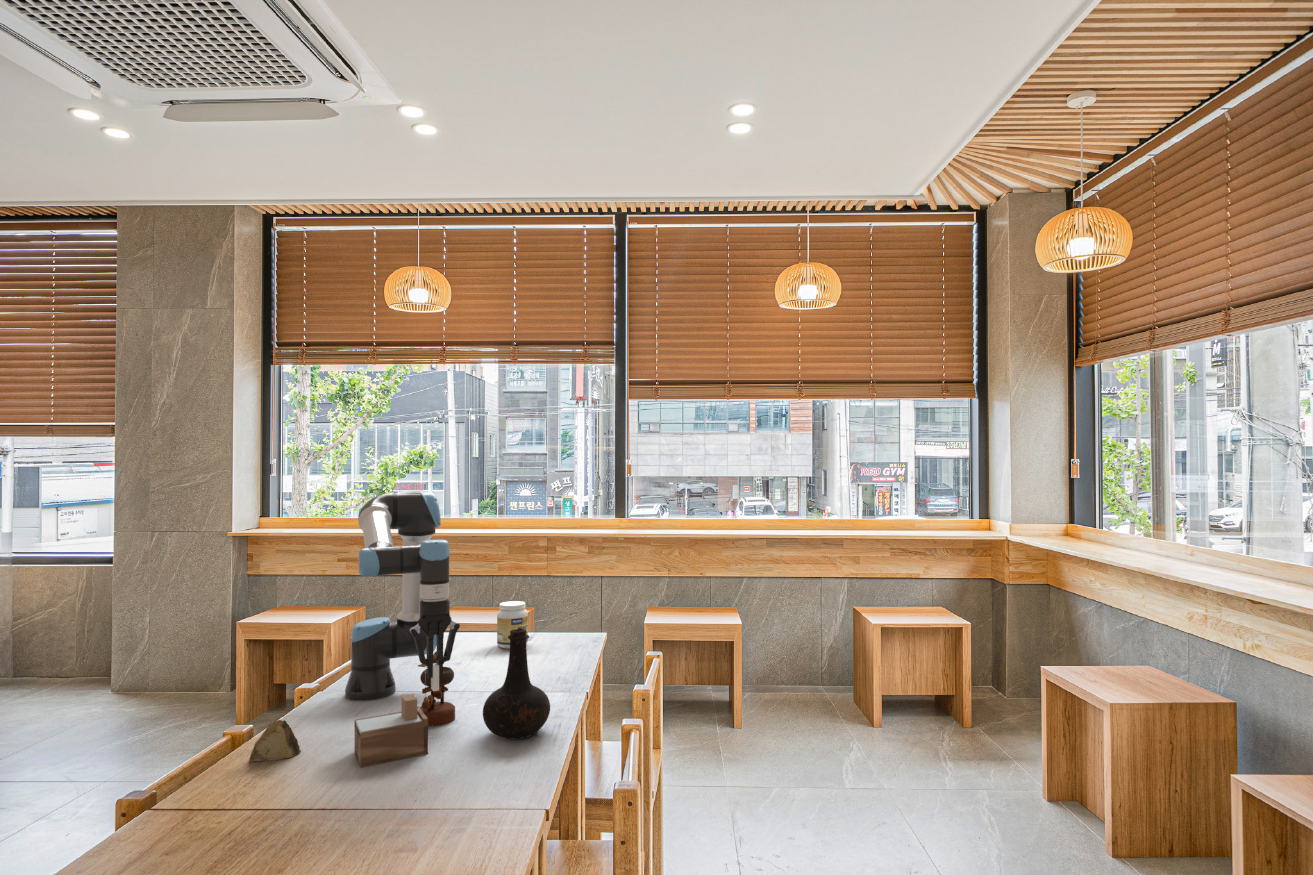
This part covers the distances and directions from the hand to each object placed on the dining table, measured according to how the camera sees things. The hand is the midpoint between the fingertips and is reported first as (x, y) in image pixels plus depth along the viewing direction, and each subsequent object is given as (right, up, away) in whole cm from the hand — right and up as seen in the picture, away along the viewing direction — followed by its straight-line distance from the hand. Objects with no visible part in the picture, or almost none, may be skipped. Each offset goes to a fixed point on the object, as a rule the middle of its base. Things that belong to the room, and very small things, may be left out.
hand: (435, 689), depth 192 cm
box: (-9, -14, -6) cm, 18 cm away
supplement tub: (0, -18, +102) cm, 104 cm away
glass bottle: (+20, -15, +7) cm, 26 cm away
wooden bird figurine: (-5, -15, +19) cm, 25 cm away
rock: (-38, -15, -8) cm, 42 cm away
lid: (-10, -7, -6) cm, 13 cm away
